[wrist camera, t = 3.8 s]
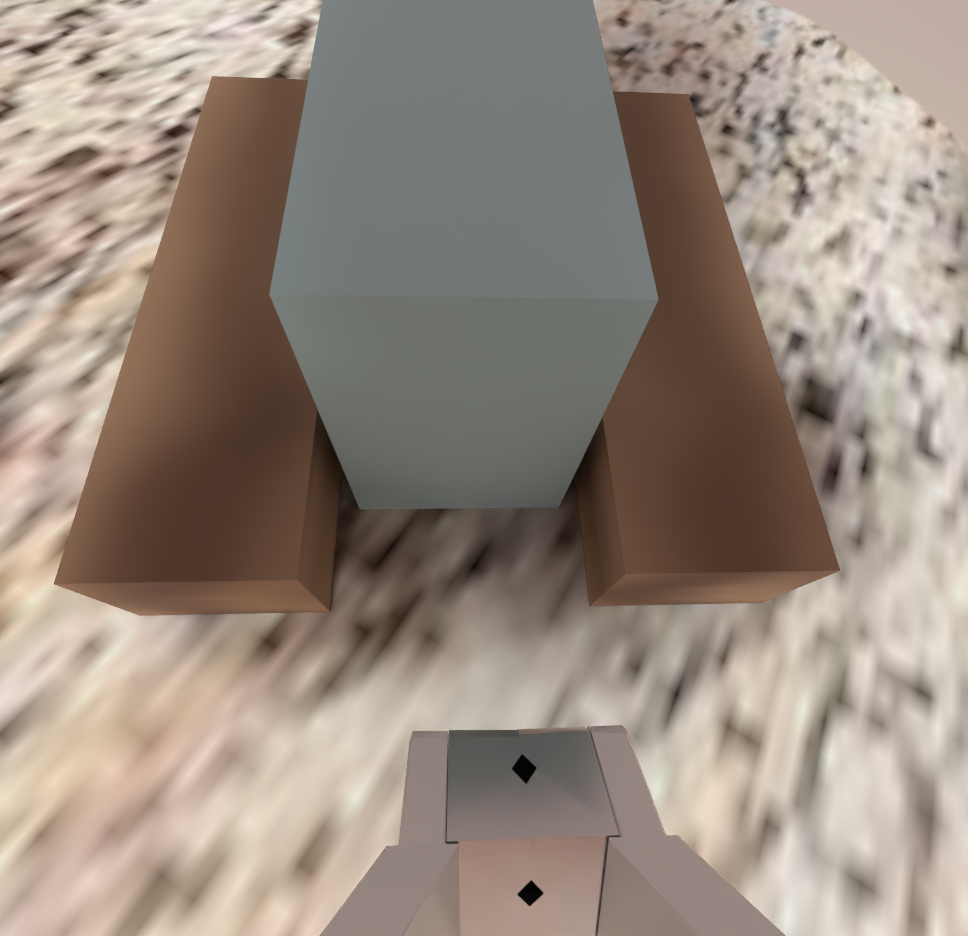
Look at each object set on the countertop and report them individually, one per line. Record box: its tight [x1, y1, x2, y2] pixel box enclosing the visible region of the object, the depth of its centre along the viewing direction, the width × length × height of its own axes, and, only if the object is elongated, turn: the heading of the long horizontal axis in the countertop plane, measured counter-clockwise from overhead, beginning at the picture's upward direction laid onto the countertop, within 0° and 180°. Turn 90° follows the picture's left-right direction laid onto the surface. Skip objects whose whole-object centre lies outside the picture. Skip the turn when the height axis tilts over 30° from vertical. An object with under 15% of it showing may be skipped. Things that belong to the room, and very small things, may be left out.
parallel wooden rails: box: [54, 76, 840, 615], centre depth 17 cm, size 17×18×4 cm
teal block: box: [269, 0, 659, 509], centre depth 15 cm, size 6×12×9 cm, turn 2°
